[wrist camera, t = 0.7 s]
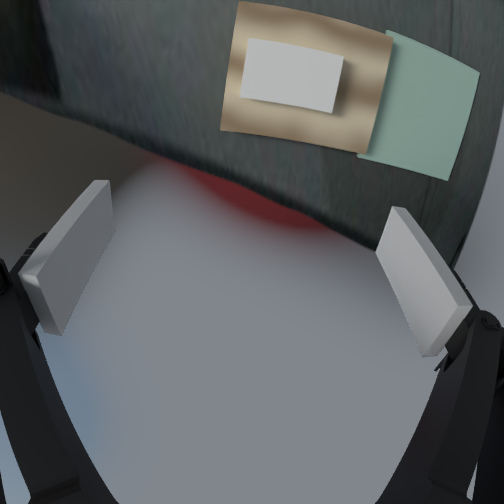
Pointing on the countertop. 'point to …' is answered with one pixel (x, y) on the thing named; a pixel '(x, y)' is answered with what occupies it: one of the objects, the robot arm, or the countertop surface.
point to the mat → (421, 109)
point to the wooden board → (349, 87)
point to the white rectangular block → (290, 75)
